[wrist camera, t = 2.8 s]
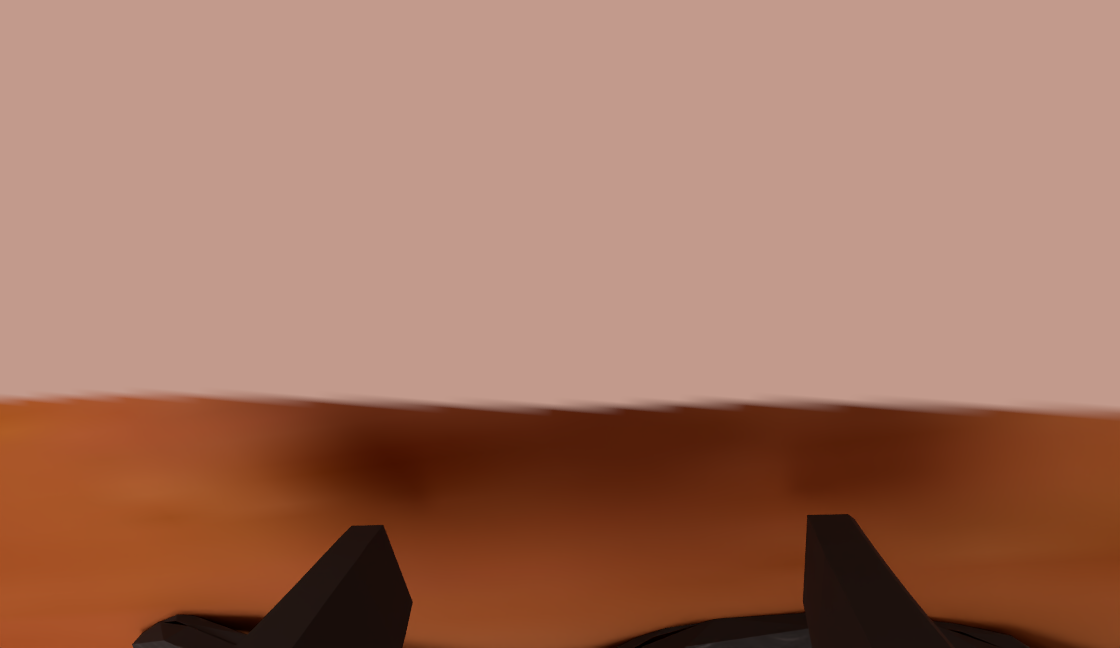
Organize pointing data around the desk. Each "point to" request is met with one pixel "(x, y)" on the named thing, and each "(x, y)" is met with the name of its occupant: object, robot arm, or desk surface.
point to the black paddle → (716, 644)
